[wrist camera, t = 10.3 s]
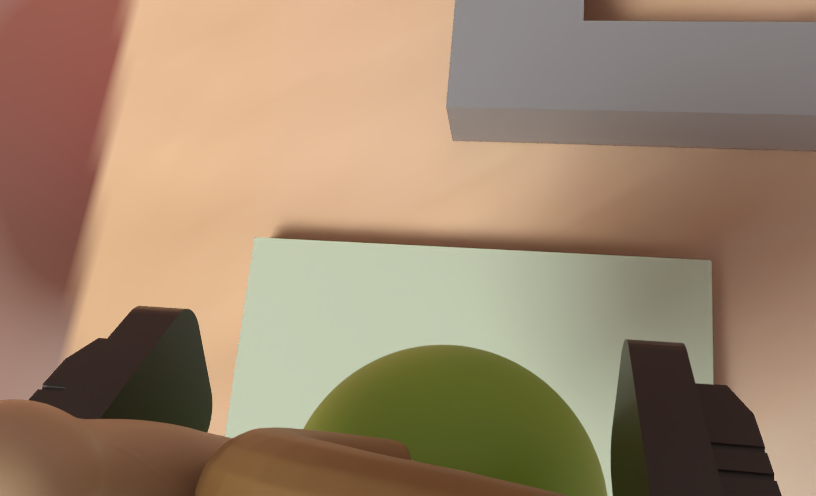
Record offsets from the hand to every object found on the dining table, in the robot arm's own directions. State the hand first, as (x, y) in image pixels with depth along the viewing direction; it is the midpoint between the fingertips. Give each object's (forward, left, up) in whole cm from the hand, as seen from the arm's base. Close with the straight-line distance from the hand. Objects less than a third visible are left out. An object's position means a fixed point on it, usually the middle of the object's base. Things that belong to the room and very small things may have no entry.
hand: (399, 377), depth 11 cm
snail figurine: (0, +2, -6) cm, 6 cm away
